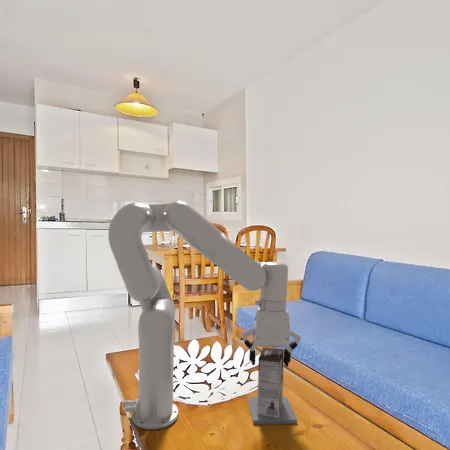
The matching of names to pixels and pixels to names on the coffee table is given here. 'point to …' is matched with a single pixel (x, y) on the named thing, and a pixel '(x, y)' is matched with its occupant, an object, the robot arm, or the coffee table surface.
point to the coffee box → (270, 382)
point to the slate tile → (285, 417)
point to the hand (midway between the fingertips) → (269, 363)
